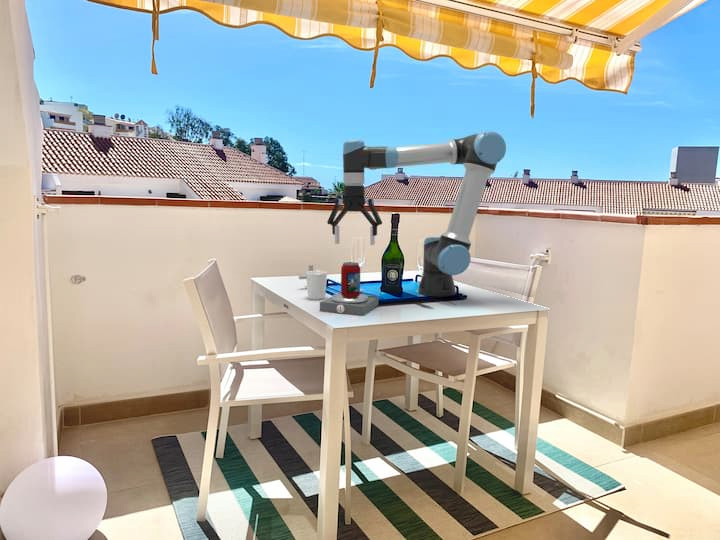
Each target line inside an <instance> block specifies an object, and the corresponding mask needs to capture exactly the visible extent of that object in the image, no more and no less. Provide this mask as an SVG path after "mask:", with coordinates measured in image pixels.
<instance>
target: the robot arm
mask: <svg viewBox="0 0 720 540" xmlns="http://www.w3.org/2000/svg"><path fill="white" fill-rule="evenodd" d="M506 144H507V143H506V141H505V139H504V138H503V136H502V135H501V134H500V133H498V132H496V131H492V130H485V131H484V130H483V131H481V132H479V133H475V134H471V135H467V136H465V137H461V138H456V139H455V138H453V139H450V140H449V141H448V142H441V143H430V144H416V145H409V146H408V145H406V146H405V145H403V146H366V145H365V141H364V140H362V139H361V140H359V139H357V140H356V139H351V140H346V141H344V142H343V145H342V148H343V149H342V169H343V170H342V171H343V177H342V178H343V184H344V185H343V199H342V198H335V200H334V207H333V208H332V211H331V213H330V216H329V217H328V219H327V221H326V223H327V225H330V226H331V229H332V235H334V245H339V244H340V225H338V224H339V223H340V222H341V220H342V219H343V218H344V217H345V216H346V214H347V213H348V212H360V213H361V214H362V215H363V216H364V217H365V219H366V220H367V221H368V223H370V225H371V226H370V227H369V229H370V230H369V231H370V233H369V236H370V237H369V238H370V241H369V242H370V244H369V245H370V246H375V243H376V242H375V241H376V240H375V239H376V238H375V236H377V235H378V226H380V225H383V221H382V219H381V216H380V215H379V213H378V210H377V209H376V206H375V202H374V199H373V198H368V199H366V197H365V196H366V194H365V191H366V190H365V169H369V170H374V171H375V170H381V169H394V168H400V167H411V166H414V167H415V166H423V165H425V166H426V165H435V164H444V163H450V165H452V166H453V165H463V166H464V168H465V172H464V175H463V178H462V181H461V184H460V189H459V192H458V194H457V196H456V197H457V198H456V201H455V203H454V207H453V210H452V213H451V217H450V220H449V223H448V225H447V229H446V231H444V232H443V233H442V234H441V235H440V236H432V237H431V236H430V237H429V236H428V237H426V238H425V239H424V243H423V269H422V275H421V278H420V281H419V285H418V288H417V292H418V294H420V295H423V296H429V297H451V296H454V295H456V285H455V282H454V279H453V276H457V275H460V274H462V273H464V272H465V271H467V269H468V268H469V266H470V264H471V258H472V257H471V253H470V248H471V245H472V242H471V240H470V234H471V232H472V229H473V225H474V222H475V219H476V217H477V213H478V210H479V207H480V205H481V200H482V197H483V194H484V191H485V188H486V185H487V181H488V179H489V176H491V175H492V174H494V173H495V170H496V167H497V165H498V163H500V162H501V161H502V160H503V158H504V157H505V155H506V152H507V145H506ZM342 204H343V205H344V207H343V208H342V210H341V211H340V213H338V211H339V209H340V207H341V205H342ZM365 205H366V206H368V207H369V209H370V212H371V213H372V215H371V214H370V213H369V211H368V210H367V208H366V207H365ZM337 214H338V215H337ZM336 216H337V217H336Z"/></svg>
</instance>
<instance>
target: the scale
mask: <svg viewBox="0 0 720 540" xmlns="http://www.w3.org/2000/svg"><path fill="white" fill-rule="evenodd" d="M339 293H340V292H338V293H337V294H339ZM366 295H367V296H368V301H366V302H363V303H356V304H345V303H337V302H334V301H332V296H330V297H328V298H325V299H323V300H321V301H320V302H319V311H320V312H326V311H327V312H326V313H334V314H336V313H337V314H344V315H353V316H365V315H366V314H367V313H369V312H371V311H372V310H373V309H375V308H376V307H378V306H379V297H378V295H368V294H366Z"/></svg>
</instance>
